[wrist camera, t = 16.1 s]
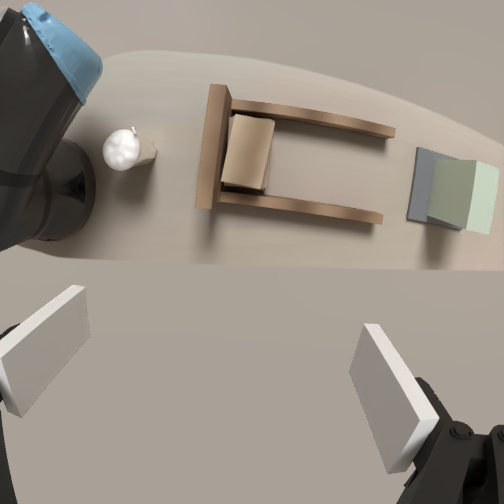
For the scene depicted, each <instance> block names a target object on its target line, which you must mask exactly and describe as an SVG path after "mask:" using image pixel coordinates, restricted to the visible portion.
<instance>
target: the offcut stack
mask: <svg viewBox="0 0 504 504" xmlns="http://www.w3.org/2000/svg"><path fill="white" fill-rule="evenodd" d="M274 126H275V122H274V121H273V120H272V119H264V118H254V117H249V116H244V115H238V114H235V116H233V117H229V129H228V147H227V154H226V158H225V163H224V168H223V173H222V178H221V181H223V182H224V185H225V186H233V187H242V188H250V189H258V190H265V188H268V173H269V158H270V150H271V142H272V135H273V130H274Z"/></svg>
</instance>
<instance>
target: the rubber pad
mask: <svg viewBox="0 0 504 504" xmlns="http://www.w3.org/2000/svg"><path fill="white" fill-rule="evenodd" d="M435 159H446V160H459V159H456V158H453V157H449V156H446V155H443V154H440V153H437V152H433V151H430V150H427V149H423V148H420V147H417V151H416V159H415V167H414V174H413V181H412V188H411V194H410V200H409V206H408V211H407V217H406V218H408V219H413V220H418V221H423V222H428V223H433V224H437V225H442V226H447V227H452V228H456V229H461V230H462V228H461V227H458V226H455V225H453V224H450V223H447V222H445V221H442V220H439V219H436V218H434V217H431V216H428V215H427V211H428V206H429V200H430V194H431V188H432V181H433V174H434V166H435Z"/></svg>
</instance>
